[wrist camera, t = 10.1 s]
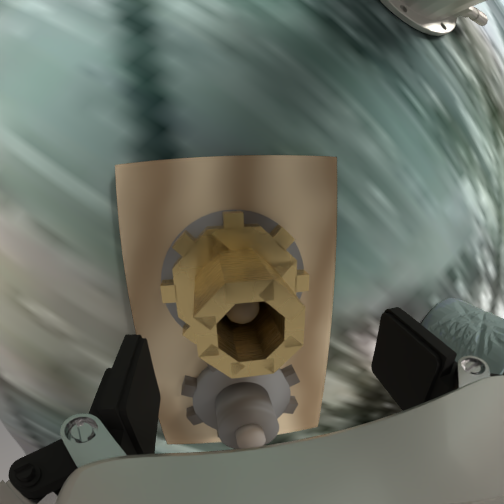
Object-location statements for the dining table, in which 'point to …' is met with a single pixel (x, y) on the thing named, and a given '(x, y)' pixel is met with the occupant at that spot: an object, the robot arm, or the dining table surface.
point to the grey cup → (468, 331)
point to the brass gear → (239, 295)
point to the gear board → (198, 194)
